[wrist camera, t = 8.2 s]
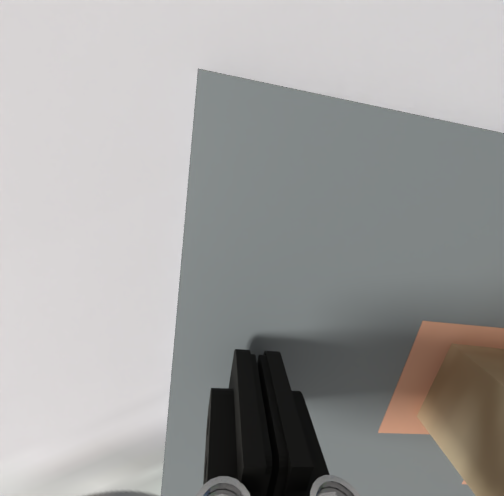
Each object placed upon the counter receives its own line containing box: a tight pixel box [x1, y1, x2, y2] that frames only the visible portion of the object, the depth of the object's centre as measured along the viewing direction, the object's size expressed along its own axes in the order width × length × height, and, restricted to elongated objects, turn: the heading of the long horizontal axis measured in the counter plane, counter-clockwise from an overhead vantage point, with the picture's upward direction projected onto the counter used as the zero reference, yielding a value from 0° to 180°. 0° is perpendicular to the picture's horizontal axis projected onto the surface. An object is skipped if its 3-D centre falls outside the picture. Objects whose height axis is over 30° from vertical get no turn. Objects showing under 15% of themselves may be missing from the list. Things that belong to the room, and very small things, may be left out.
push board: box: [161, 69, 504, 496], centre depth 12 cm, size 20×23×1 cm
